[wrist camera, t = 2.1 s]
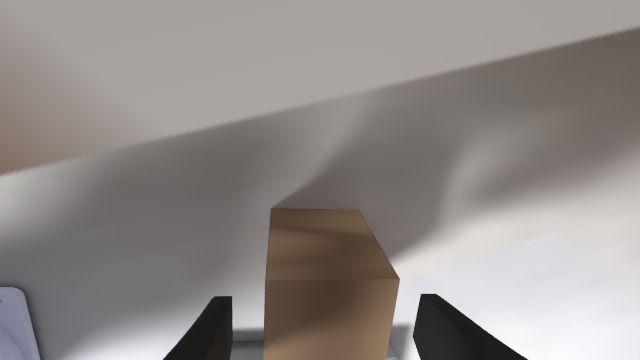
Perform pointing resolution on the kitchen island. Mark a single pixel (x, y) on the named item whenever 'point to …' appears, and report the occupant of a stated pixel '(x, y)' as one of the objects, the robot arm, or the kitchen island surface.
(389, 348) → the grey tray
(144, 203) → the kitchen island surface
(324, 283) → the walnut block
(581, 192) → the kitchen island surface
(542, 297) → the kitchen island surface
